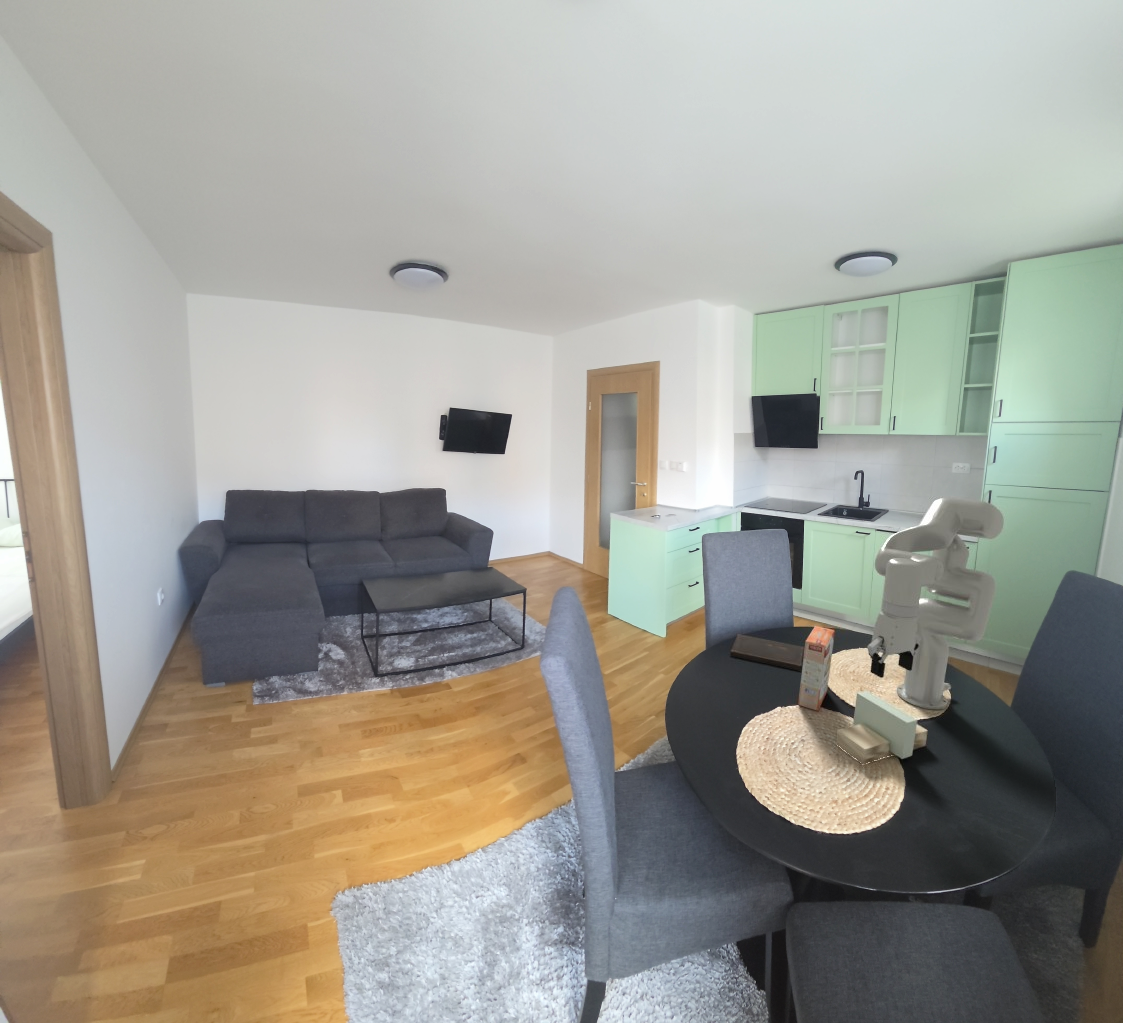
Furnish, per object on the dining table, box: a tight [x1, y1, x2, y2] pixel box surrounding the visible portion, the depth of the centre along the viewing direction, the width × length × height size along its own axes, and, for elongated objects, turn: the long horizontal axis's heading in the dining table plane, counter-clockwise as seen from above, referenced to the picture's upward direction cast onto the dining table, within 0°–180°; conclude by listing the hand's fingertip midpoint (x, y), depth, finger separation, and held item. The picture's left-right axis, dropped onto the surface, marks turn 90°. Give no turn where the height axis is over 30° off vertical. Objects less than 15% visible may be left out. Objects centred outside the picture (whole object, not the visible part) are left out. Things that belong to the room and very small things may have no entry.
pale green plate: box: [852, 690, 918, 760], centre depth 130 cm, size 4×14×10 cm, turn 19°
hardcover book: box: [730, 633, 805, 672], centre depth 181 cm, size 16×23×2 cm
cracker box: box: [798, 625, 836, 712], centre depth 151 cm, size 14×6×21 cm, turn 142°
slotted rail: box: [835, 723, 928, 765], centre depth 131 cm, size 22×8×4 cm, turn 109°
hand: (890, 671), depth 128 cm, fingers open, 9 cm apart
